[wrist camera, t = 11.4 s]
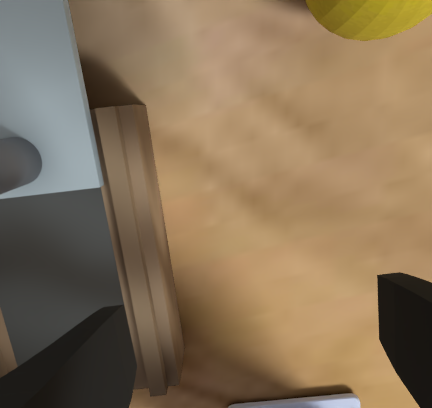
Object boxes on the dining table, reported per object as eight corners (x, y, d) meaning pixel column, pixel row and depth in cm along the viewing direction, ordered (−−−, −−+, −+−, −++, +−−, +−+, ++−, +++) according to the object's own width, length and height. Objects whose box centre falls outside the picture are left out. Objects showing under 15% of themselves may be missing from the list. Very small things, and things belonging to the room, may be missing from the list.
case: (184, 348, 22) (178, 393, 18) (-77, 374, 23) (-131, 423, 19) (145, 105, 19) (128, 104, 15) (-161, 143, 19) (-246, 150, 16)
